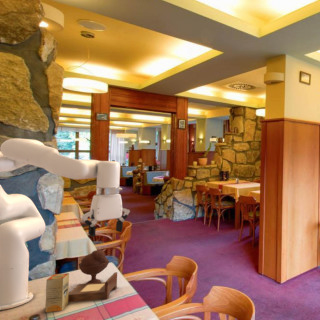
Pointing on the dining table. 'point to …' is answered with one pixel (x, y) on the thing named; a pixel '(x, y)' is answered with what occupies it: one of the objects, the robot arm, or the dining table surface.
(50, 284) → the shoe polish box
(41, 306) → the dining table surface
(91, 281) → the ice cream bowl
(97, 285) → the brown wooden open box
